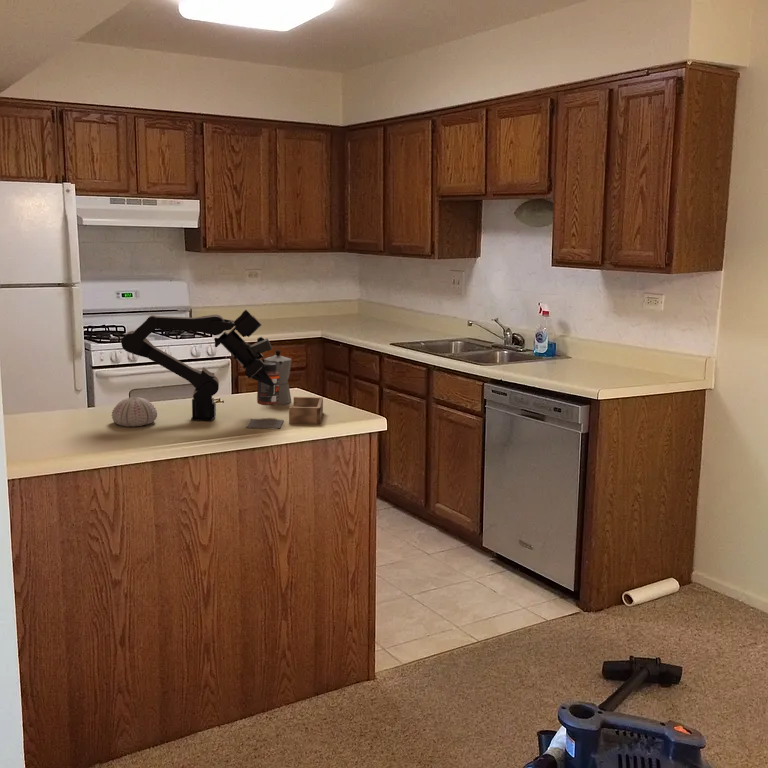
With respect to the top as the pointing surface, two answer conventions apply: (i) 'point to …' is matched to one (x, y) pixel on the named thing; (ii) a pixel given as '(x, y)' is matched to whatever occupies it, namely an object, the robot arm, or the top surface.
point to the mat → (264, 423)
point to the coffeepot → (282, 375)
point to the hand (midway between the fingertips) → (272, 383)
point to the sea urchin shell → (134, 412)
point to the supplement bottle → (269, 387)
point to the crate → (306, 410)
